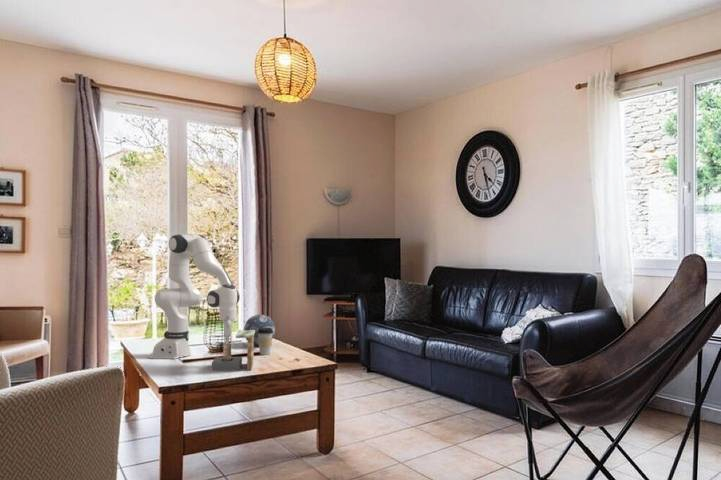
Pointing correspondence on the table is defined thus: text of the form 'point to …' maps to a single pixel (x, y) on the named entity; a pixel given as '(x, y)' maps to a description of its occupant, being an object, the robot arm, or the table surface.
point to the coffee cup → (265, 340)
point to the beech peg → (227, 352)
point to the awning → (250, 349)
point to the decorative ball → (259, 325)
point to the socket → (227, 363)
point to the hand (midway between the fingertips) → (227, 341)
